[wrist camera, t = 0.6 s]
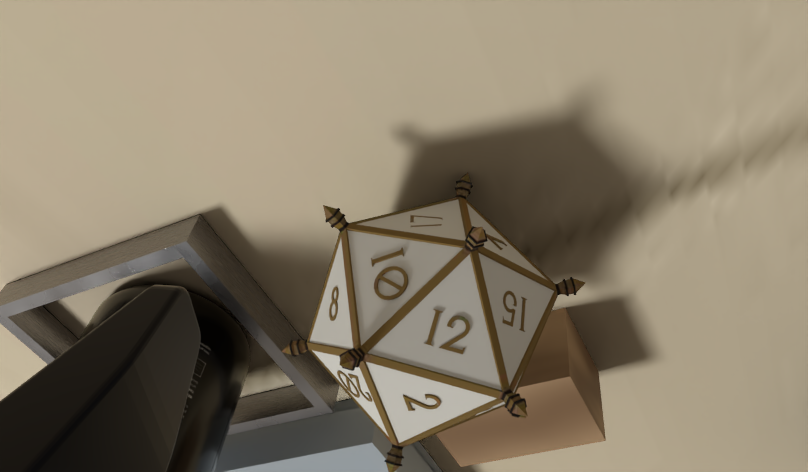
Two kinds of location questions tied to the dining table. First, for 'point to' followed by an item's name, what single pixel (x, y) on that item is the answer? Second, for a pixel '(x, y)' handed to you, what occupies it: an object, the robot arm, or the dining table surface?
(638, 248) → the dining table surface
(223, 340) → the supplement bottle
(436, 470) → the parts tray
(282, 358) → the grey square frame
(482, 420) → the block
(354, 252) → the game die
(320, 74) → the dining table surface
